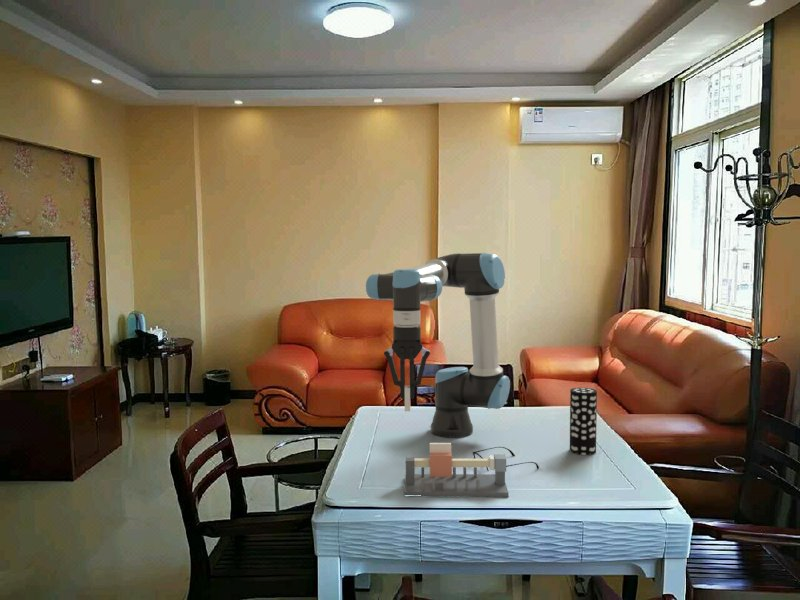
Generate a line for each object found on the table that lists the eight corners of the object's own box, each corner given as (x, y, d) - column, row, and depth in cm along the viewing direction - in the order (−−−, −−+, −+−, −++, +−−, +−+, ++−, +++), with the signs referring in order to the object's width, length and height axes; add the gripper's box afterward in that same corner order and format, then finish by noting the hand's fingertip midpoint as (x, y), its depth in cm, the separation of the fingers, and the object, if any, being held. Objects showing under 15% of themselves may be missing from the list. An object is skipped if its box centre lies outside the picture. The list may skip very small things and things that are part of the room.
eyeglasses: (469, 462, 207) (469, 450, 207) (512, 455, 214) (512, 443, 213) (498, 479, 192) (498, 466, 192) (543, 471, 199) (543, 458, 198)
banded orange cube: (429, 476, 182) (429, 446, 182) (429, 469, 188) (429, 440, 188) (451, 477, 182) (451, 446, 181) (451, 469, 188) (450, 440, 187)
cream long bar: (408, 471, 184) (408, 458, 183) (408, 466, 187) (408, 454, 187) (506, 471, 182) (506, 458, 182) (504, 466, 186) (504, 454, 186)
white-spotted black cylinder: (597, 455, 211) (598, 393, 210) (570, 454, 213) (570, 392, 211) (594, 447, 219) (595, 388, 218) (569, 446, 221) (569, 387, 219)
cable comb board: (404, 496, 179) (403, 467, 178) (405, 478, 193) (405, 451, 192) (508, 496, 178) (508, 467, 177) (502, 478, 192) (502, 451, 191)
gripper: (382, 327, 179) (383, 413, 180) (430, 327, 178) (431, 413, 180) (384, 324, 186) (384, 406, 188) (430, 323, 185) (431, 406, 187)
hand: (407, 409), depth 184 cm, fingers closed
